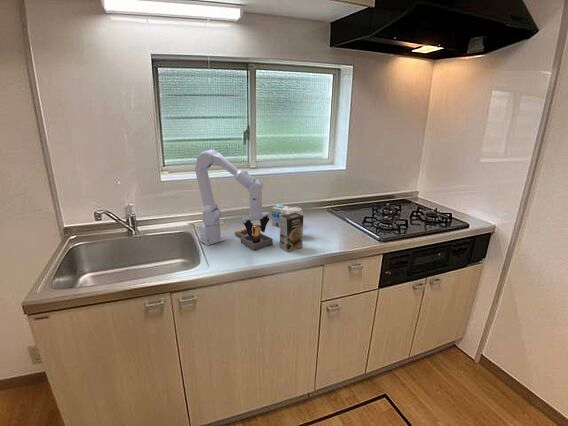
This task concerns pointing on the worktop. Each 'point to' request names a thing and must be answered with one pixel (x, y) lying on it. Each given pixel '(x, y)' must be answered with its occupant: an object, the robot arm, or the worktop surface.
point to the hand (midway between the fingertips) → (256, 233)
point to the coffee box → (291, 231)
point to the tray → (263, 243)
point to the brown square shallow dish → (241, 233)
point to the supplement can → (294, 210)
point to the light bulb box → (278, 214)
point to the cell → (256, 233)
